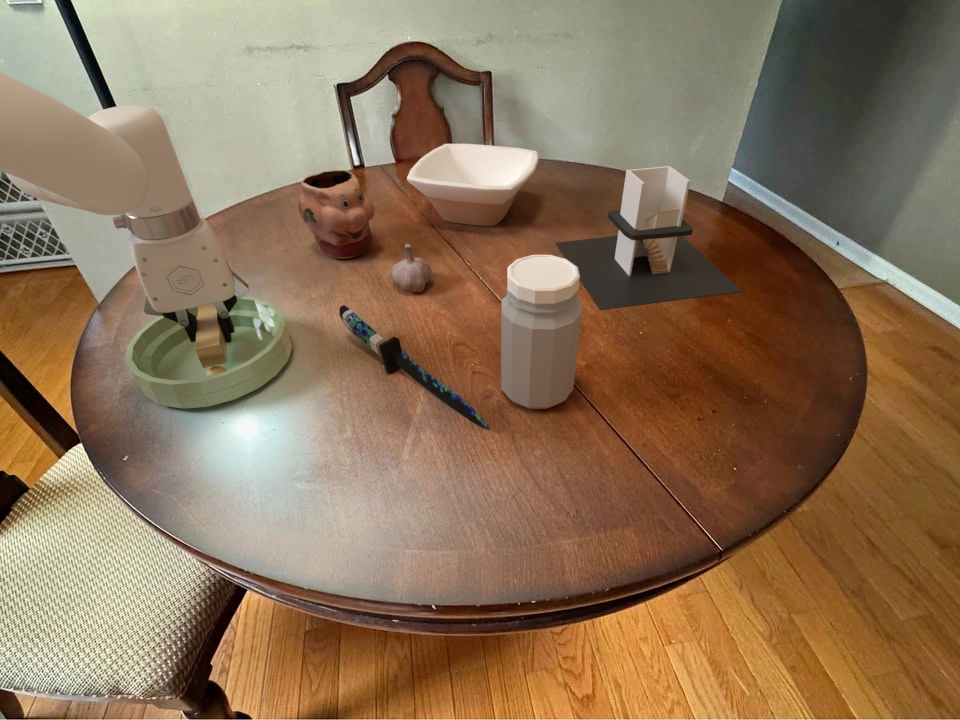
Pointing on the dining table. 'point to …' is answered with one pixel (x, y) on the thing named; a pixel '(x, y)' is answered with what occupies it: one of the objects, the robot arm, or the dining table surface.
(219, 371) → the chickpea
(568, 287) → the jar
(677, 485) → the dining table surface
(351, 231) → the decorative planter
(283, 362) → the shallow round dish
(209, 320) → the stick
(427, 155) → the bowl
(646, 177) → the model building
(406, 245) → the garlic bulb
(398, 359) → the knife
